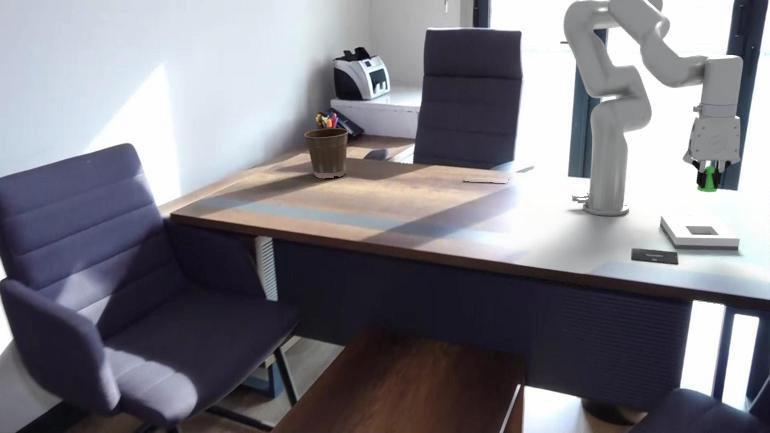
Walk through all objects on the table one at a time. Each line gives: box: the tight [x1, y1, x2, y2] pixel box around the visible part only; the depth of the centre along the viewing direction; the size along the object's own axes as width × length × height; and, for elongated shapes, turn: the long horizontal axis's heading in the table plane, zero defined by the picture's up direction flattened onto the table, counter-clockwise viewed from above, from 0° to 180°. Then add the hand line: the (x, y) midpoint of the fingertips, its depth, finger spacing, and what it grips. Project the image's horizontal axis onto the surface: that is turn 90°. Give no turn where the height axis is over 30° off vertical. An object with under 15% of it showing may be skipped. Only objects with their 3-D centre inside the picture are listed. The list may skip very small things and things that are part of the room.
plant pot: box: [303, 127, 349, 173], centre depth 224 cm, size 16×16×16 cm
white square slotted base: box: [659, 214, 741, 251], centre depth 154 cm, size 14×16×3 cm
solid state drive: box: [631, 247, 679, 266], centre depth 144 cm, size 7×10×1 cm
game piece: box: [697, 165, 718, 193], centre depth 146 cm, size 4×4×6 cm
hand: (707, 186), depth 147 cm, fingers closed on game piece, 2 cm apart
